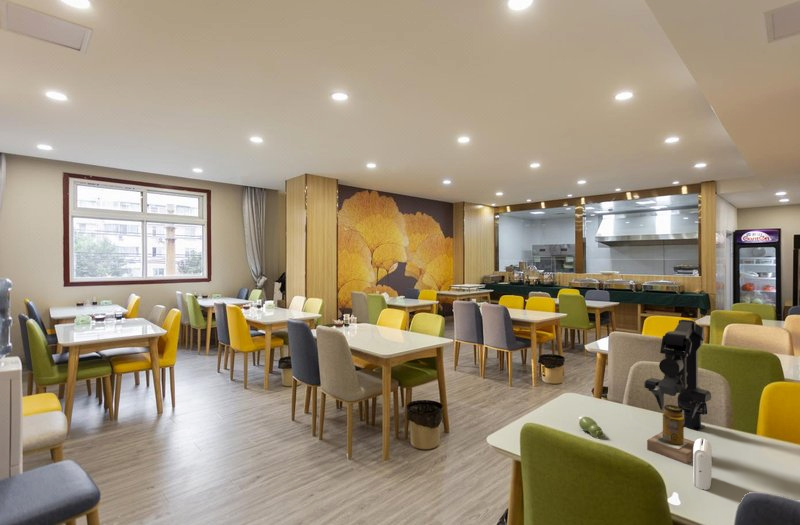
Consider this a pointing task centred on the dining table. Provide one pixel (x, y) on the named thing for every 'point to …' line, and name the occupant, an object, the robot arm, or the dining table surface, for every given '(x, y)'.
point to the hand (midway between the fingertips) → (676, 413)
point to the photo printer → (702, 464)
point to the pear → (590, 426)
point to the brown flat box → (672, 449)
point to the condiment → (673, 427)
